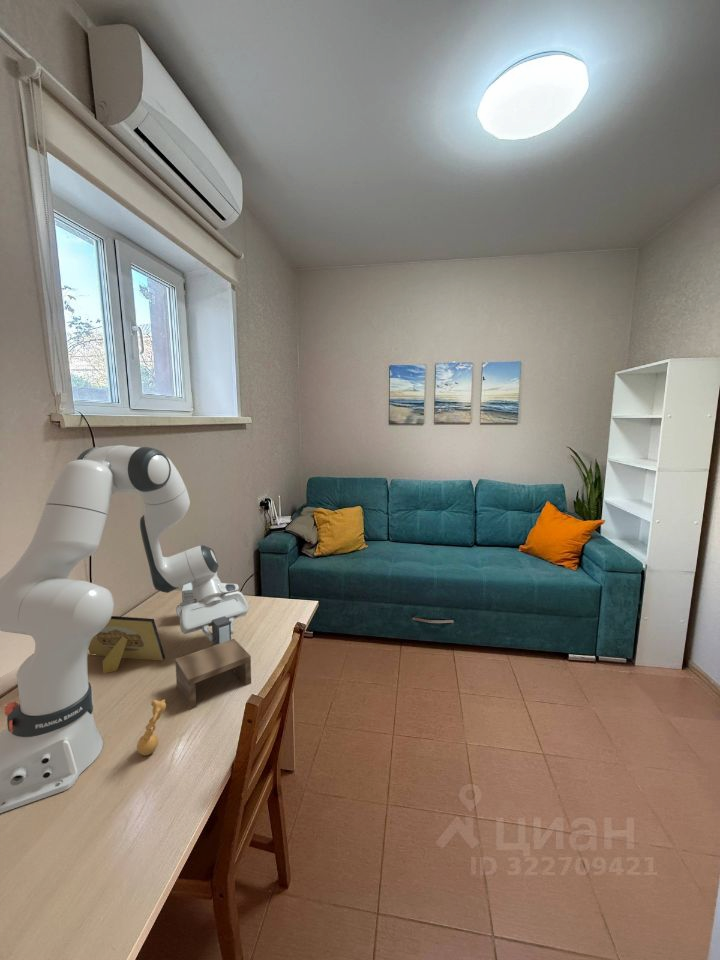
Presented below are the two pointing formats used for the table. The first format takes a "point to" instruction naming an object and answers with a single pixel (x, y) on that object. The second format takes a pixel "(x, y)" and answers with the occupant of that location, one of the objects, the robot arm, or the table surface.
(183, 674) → the walnut shelf
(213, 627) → the tall grey pillar block
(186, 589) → the supplement box
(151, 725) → the figurine
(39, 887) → the table surface
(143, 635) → the picture frame
